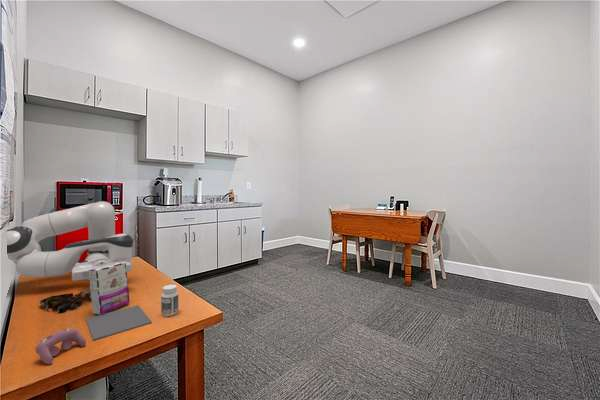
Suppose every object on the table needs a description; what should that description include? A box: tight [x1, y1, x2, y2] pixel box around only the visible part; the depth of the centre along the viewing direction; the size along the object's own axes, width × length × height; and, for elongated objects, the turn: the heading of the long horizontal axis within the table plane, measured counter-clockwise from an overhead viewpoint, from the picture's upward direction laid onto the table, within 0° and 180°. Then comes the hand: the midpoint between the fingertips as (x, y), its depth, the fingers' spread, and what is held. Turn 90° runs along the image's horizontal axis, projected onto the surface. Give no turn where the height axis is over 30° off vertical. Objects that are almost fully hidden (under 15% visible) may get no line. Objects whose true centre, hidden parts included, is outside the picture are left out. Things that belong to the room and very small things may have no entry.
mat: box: [85, 304, 153, 341], centre depth 91 cm, size 18×16×1 cm
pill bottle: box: [160, 284, 179, 317], centre depth 98 cm, size 6×6×10 cm
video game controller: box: [35, 327, 87, 365], centre depth 73 cm, size 10×5×7 cm, turn 164°
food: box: [39, 287, 91, 314], centre depth 108 cm, size 22×19×4 cm
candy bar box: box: [88, 262, 131, 316], centre depth 100 cm, size 11×5×16 cm, turn 160°
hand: (106, 274), depth 106 cm, fingers closed
